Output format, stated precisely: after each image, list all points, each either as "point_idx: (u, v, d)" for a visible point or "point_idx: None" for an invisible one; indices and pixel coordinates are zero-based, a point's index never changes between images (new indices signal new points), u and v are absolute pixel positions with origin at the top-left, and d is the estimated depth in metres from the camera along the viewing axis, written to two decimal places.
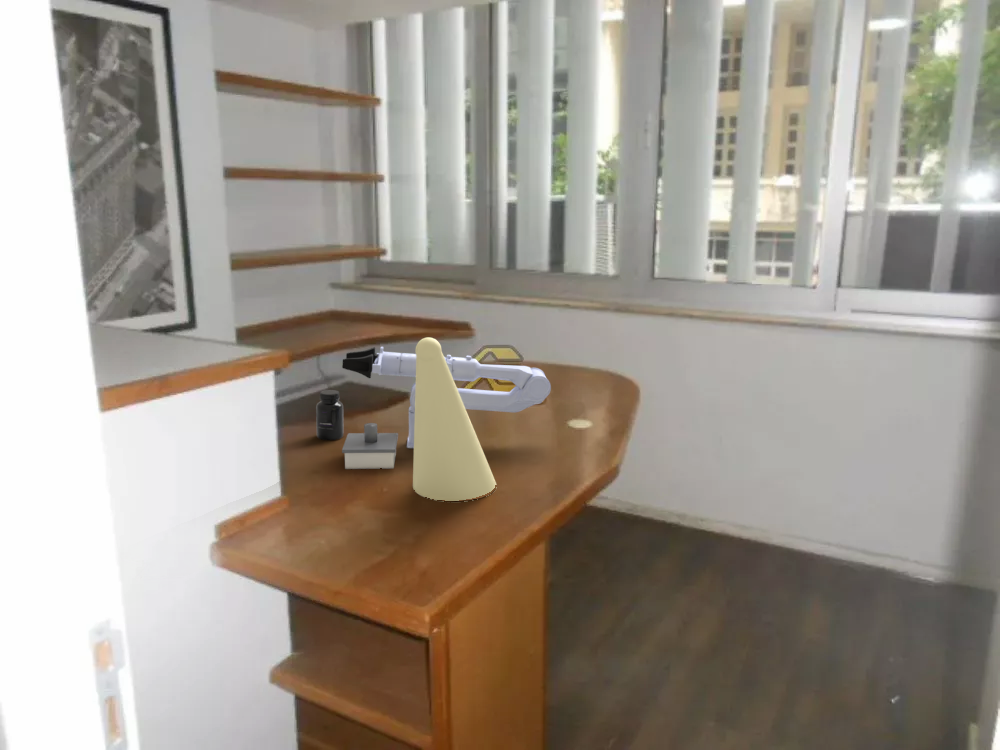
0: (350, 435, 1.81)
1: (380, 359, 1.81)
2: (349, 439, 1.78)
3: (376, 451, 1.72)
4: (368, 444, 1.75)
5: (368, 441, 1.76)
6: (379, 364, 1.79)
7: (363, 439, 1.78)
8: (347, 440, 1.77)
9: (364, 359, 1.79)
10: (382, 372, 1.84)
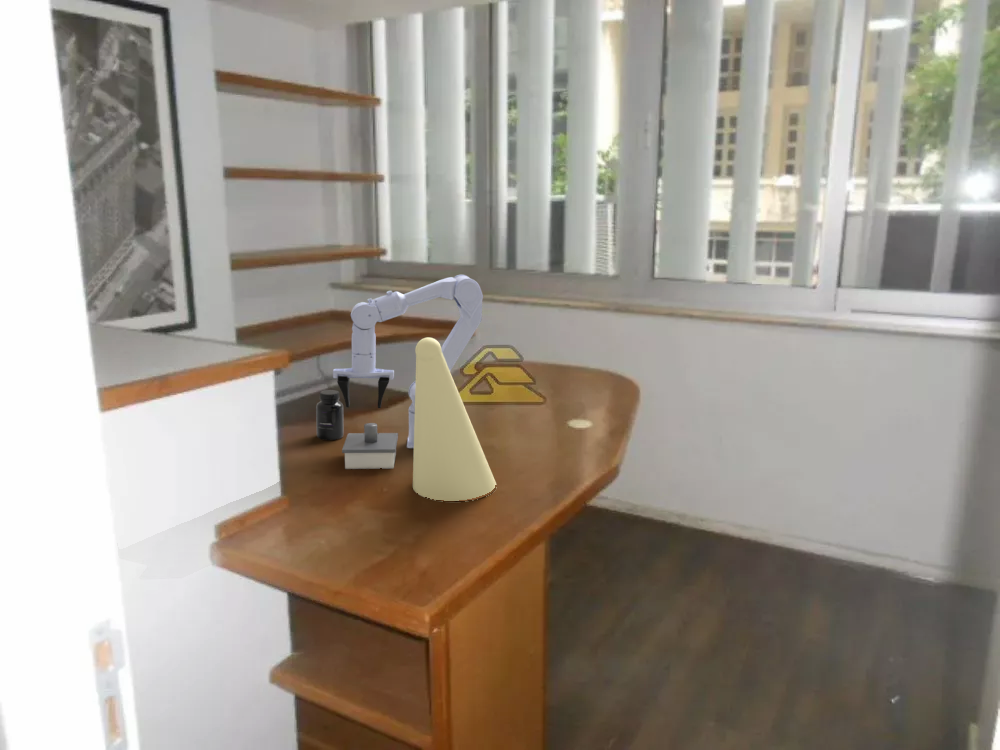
0: (350, 435, 1.81)
1: None
2: (349, 439, 1.78)
3: (376, 451, 1.72)
4: (368, 444, 1.75)
5: (368, 441, 1.76)
6: None
7: (363, 439, 1.78)
8: (347, 440, 1.77)
9: None
10: (354, 370, 1.81)
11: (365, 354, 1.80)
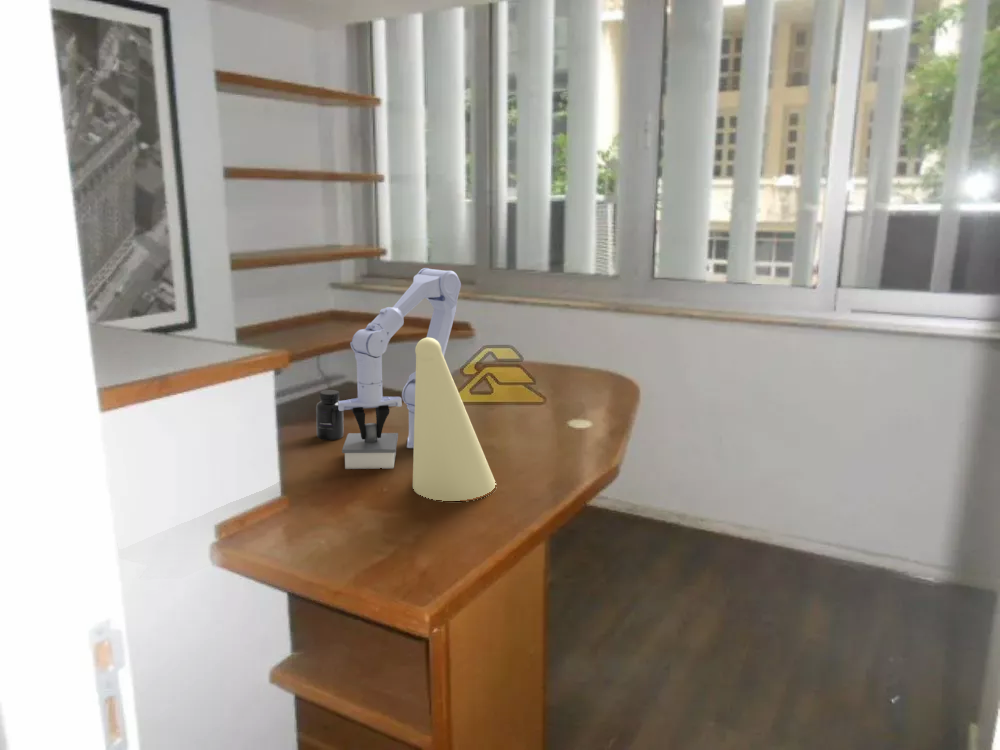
0: (350, 435, 1.81)
1: None
2: (349, 439, 1.78)
3: (376, 451, 1.72)
4: (368, 444, 1.75)
5: (368, 441, 1.76)
6: None
7: (363, 439, 1.78)
8: (347, 440, 1.77)
9: None
10: (362, 401, 1.72)
11: (374, 383, 1.72)
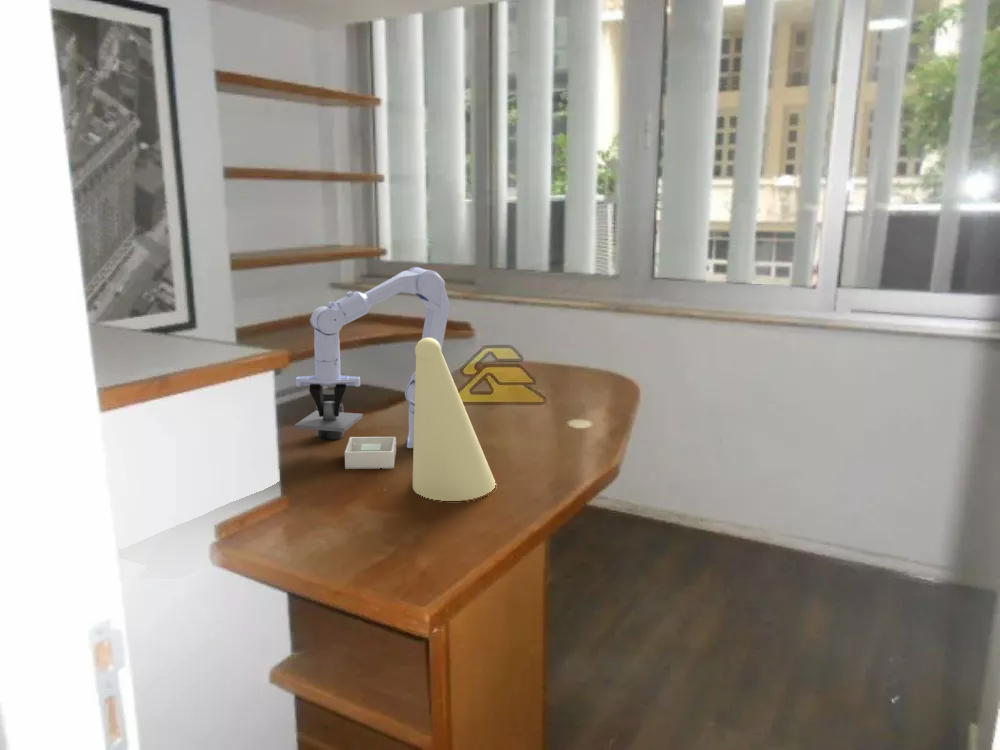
0: (315, 412, 1.82)
1: None
2: (311, 416, 1.80)
3: (326, 429, 1.72)
4: (324, 422, 1.75)
5: (324, 419, 1.76)
6: None
7: None
8: (308, 416, 1.79)
9: None
10: (317, 378, 1.73)
11: (328, 361, 1.72)
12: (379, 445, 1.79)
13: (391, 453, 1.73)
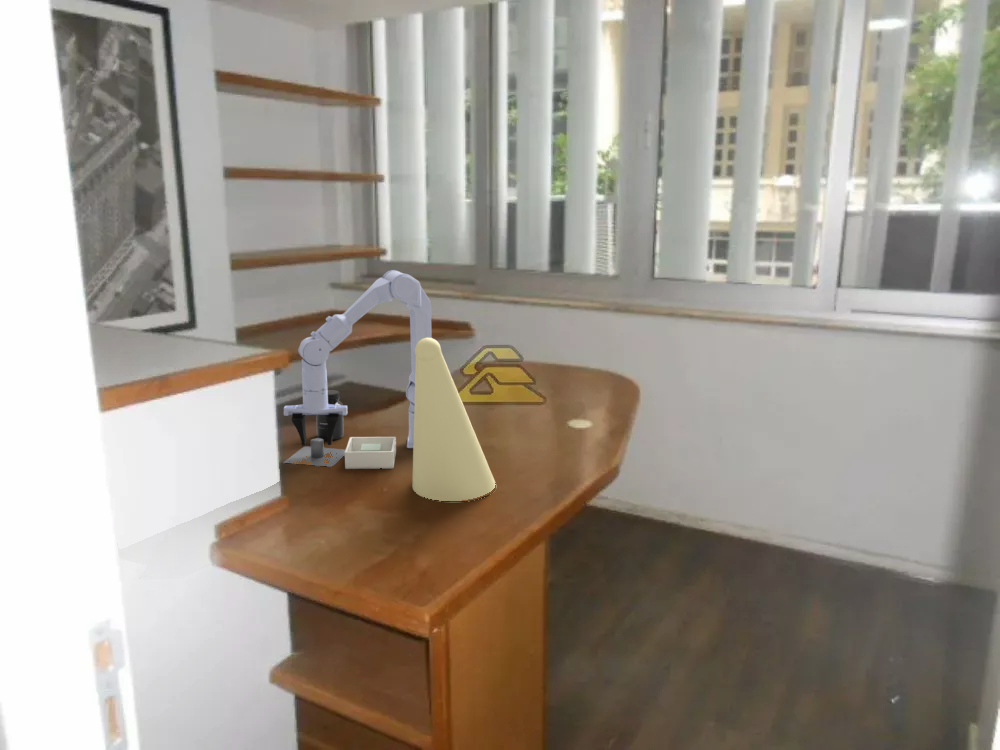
0: (304, 448, 1.85)
1: None
2: (299, 452, 1.82)
3: None
4: (312, 459, 1.78)
5: (313, 456, 1.79)
6: None
7: None
8: (296, 453, 1.82)
9: None
10: (305, 407, 1.75)
11: (316, 391, 1.74)
12: (379, 445, 1.79)
13: (391, 453, 1.73)
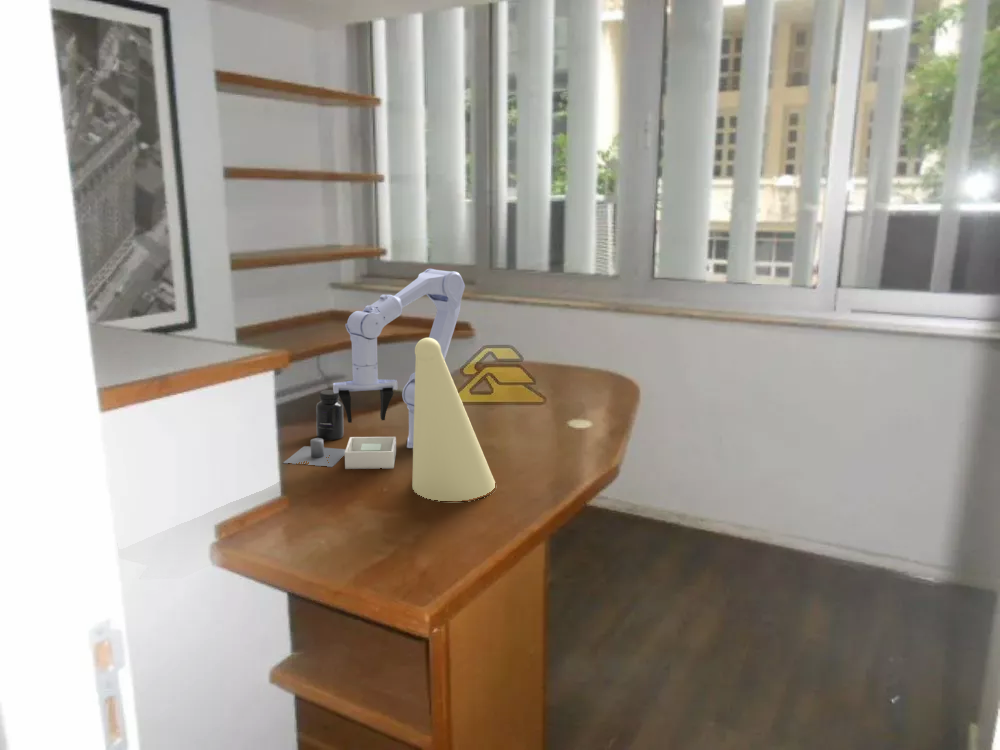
0: (304, 448, 1.85)
1: None
2: (299, 452, 1.82)
3: None
4: (312, 459, 1.78)
5: (313, 456, 1.79)
6: None
7: None
8: (296, 453, 1.82)
9: None
10: (357, 383, 1.71)
11: (369, 365, 1.70)
12: (379, 445, 1.79)
13: (391, 453, 1.73)
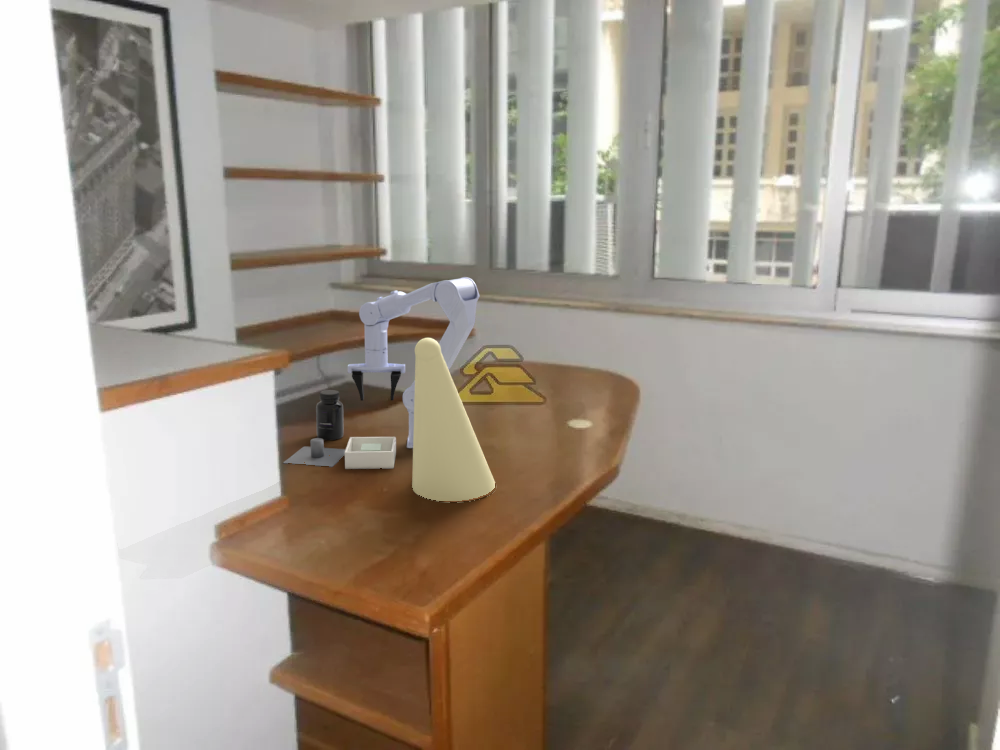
0: (304, 448, 1.85)
1: None
2: (299, 452, 1.82)
3: None
4: (312, 459, 1.78)
5: (313, 456, 1.79)
6: None
7: None
8: (296, 453, 1.82)
9: None
10: (367, 365, 1.91)
11: (378, 349, 1.90)
12: (379, 445, 1.79)
13: (391, 453, 1.73)
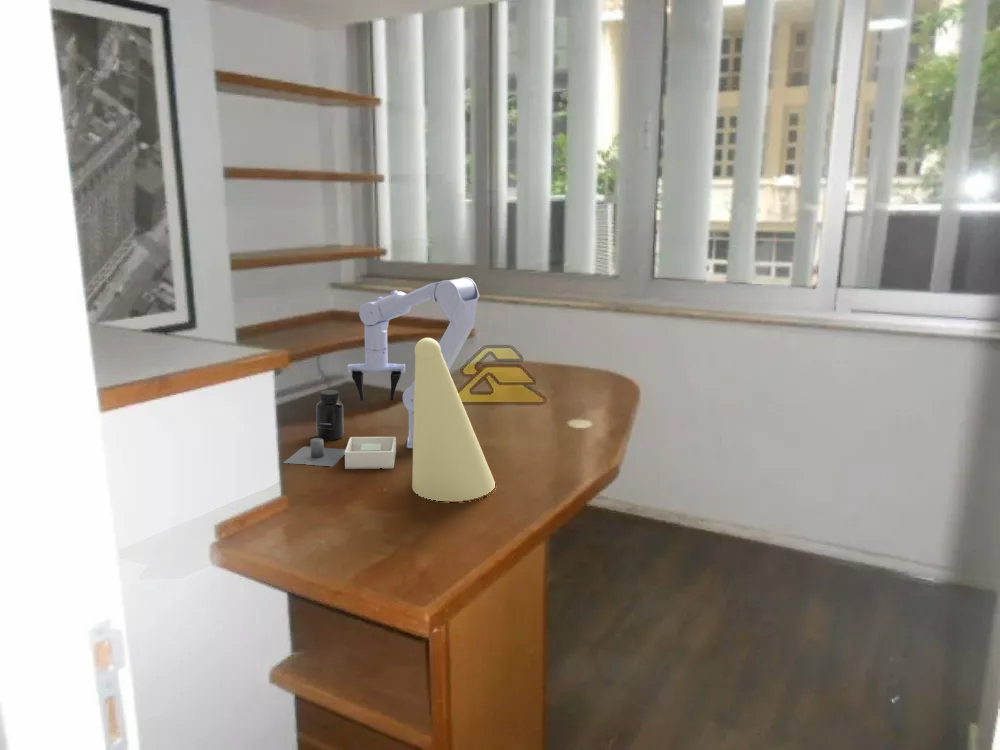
0: (303, 448, 1.85)
1: None
2: (299, 452, 1.82)
3: None
4: (312, 459, 1.78)
5: (313, 456, 1.79)
6: None
7: None
8: (296, 453, 1.82)
9: None
10: (367, 365, 1.91)
11: (378, 349, 1.90)
12: (379, 445, 1.79)
13: (391, 453, 1.73)
